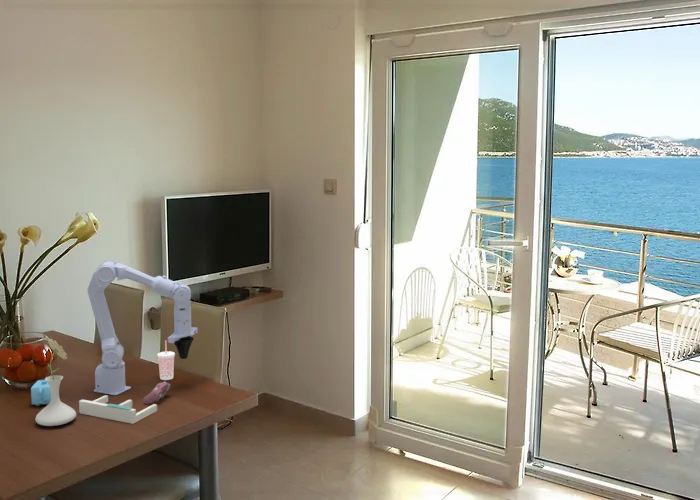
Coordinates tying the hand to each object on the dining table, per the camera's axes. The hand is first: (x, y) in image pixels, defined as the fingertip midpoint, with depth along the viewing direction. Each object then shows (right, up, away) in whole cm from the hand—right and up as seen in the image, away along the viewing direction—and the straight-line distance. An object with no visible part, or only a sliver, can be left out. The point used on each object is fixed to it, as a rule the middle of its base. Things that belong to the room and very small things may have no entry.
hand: (183, 358), depth 239 cm
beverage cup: (-8, -9, +10) cm, 16 cm away
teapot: (-41, -12, -14) cm, 45 cm away
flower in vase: (-31, -14, -30) cm, 46 cm away
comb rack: (-15, -13, -22) cm, 29 cm away
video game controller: (-6, -12, -11) cm, 18 cm away
